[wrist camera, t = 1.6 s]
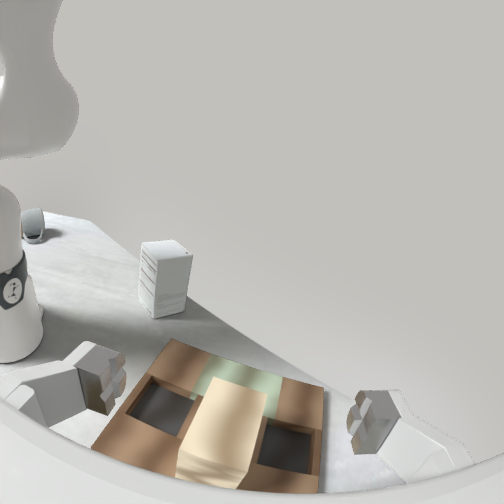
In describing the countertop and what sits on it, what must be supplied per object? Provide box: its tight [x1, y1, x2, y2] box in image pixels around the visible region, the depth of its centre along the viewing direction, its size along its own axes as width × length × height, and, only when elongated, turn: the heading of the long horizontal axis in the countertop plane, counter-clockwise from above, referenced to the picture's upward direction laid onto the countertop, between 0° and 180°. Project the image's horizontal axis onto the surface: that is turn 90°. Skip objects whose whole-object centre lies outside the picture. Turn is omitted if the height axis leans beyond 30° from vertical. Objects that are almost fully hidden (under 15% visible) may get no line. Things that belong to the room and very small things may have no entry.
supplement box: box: [138, 240, 193, 319], centre depth 53 cm, size 7×7×13 cm
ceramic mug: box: [21, 207, 45, 244], centre depth 62 cm, size 11×8×8 cm
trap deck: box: [91, 338, 324, 494], centre depth 33 cm, size 26×24×2 cm
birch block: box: [175, 376, 267, 489], centre depth 25 cm, size 6×10×9 cm, turn 168°
